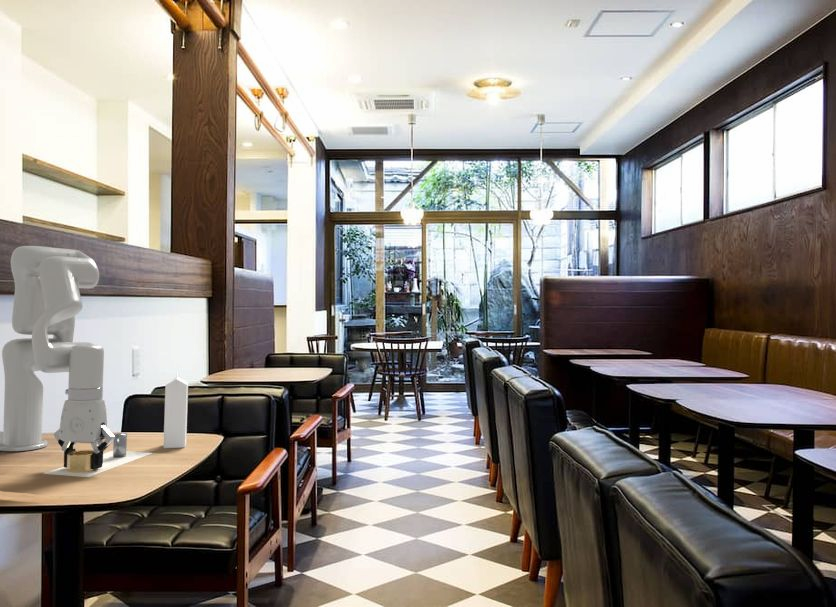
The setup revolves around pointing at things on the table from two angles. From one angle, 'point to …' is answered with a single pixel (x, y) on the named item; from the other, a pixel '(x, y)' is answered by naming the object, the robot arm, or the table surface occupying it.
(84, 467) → the ring
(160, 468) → the table surface
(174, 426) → the milk
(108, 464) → the board
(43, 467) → the table surface
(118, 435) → the cylinder
